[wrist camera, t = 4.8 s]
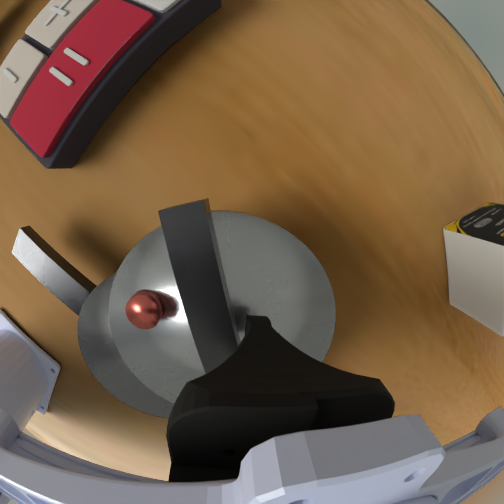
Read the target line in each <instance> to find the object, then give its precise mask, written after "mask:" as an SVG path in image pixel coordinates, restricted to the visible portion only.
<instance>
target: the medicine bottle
mask: <svg viewBox="0 0 504 504" xmlns="http://www.w3.org/2000/svg"><path fill="white" fill-rule="evenodd" d="M443 234H444V241H445V250H446V259H447V270H448V286H449V303H450V304H451V305H452V306H454V307H456V308H457V309H459V310H461V311H462V312H464V313H465V314H467V315H469V316H470V317H472V318H473V319H475V320H477V321H478V322H480V323H481V324H483V325H485V326H486V327H488V328H489V329H491V330H492V331H494V332H495V333H497V334H498V335H500V336H502V337H503V336H504V205H501V204H495V203H486V204H484V205H482V206H481V207H479V208H477V209H475V210H474V211H472V212H470V213H468V214H466V215H465V216H463V217H461V218H459V219H457V220H455V221H454V222H452V223H450V224H448V225H446V226H445V227H444V228H443Z"/></svg>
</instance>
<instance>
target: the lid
mask: <svg viewBox="0 0 504 504" xmlns="http://www.w3.org/2000/svg"><path fill="white" fill-rule="evenodd" d="M158 212H159V216H160V221H161V225H162V226H160V227H158V228H157V229H155V230H154V231H152V232H151V233H149V234H148V235H146V236H145V237H144V238H143V239H142V240H141V241H140V242H138V243H137V244H136V245H135V246H134V247H133V249H132V250H131V251H130V252H129V253H128V255H127V256H126V257H125V259H124V260H123V262H122V264H121V265H120V267H119V269H118V271H117V273H116V276H115V278H114V281H113V284H112V288H111V293H110V298H109V322H110V327H111V332H112V336H113V339H114V342H115V344H116V347H117V349H118V351H119V353H120V355H121V357H122V359H123V360H124V362H125V363H126V365H127V366H128V368H129V369H130V370H131V371H132V373H133V374H134V375H135V376H136V377H137V378H138V379H139V380H140V381H141V382H142V383H143V384H144V385H145V386H147V387H148V388H149V389H150V390H152V391H153V392H155V393H156V394H157V395H159V396H161V397H162V398H164V399H166V400H168V401H170V402H172V403H174V404H175V401H176V399H177V398H178V396H179V394H180V392H181V391H182V389H183V387H184V386H185V384H186V383H187V382H188V381H191V380H194V379H196V378H198V377H201V376H203V375H205V374H207V373H209V372H210V371H212V370H213V369H215V368H216V367H218V366H219V365H220V364H222V363H223V362H224V361H225V360H226V359H227V358H228V357H229V356H230V355H231V354H232V353H233V352H234V351H235V349H236V348H237V347H238V345H239V344H240V342H241V341H242V339H243V338H244V335H245V325H246V315H257V316H267V317H268V318H269V319H270V321H271V325H272V327H273V328H274V329H275V330H276V331H277V332H278V333H279V334H280V335H281V336H282V337H283V338H285V339H286V340H287V341H288V342H290V343H291V344H292V345H293V346H295V347H296V348H298V349H299V350H301V351H302V352H304V353H305V354H307V355H309V356H310V357H312V358H314V359H316V360H318V361H320V362H323V360H324V358H325V356H326V354H327V352H328V350H329V348H330V345H331V342H332V338H333V335H334V330H335V323H336V306H335V299H334V293H333V290H332V287H331V284H330V281H329V279H328V276H327V274H326V272H325V270H324V268H323V267H322V265H321V264H320V262H319V261H318V259H317V258H316V256H315V255H314V254H313V253H312V252H311V251H310V250H309V249H308V248H307V246H306V245H305V244H304V243H302V242H301V241H300V240H299V239H297V238H296V237H295V236H294V235H292V234H291V233H290V232H288V231H287V230H285V229H283V228H282V227H280V226H278V225H277V224H275V223H273V222H271V221H268V220H266V219H264V218H261V217H259V216H255V215H251V214H247V213H244V212H236V211H228V210H212V211H211V210H210V205H209V200H208V198H207V199H203V200H198V201H194V202H190V203H185V204H181V205H177V206H172V207H169V208H165V209H162V210H159V211H158Z"/></svg>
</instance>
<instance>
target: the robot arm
mask: <svg viewBox="0 0 504 504" xmlns="http://www.w3.org/2000/svg"><path fill="white" fill-rule="evenodd" d="M59 371H60V365H59V364H58V363H57V362H56V361H55V360H54V359H52V358H51V357H50V356H49V355H48V354H46V353H45V352H44V351H43V350H42V349H41V348H40V347H38V346H37V345H36V344H35V343H34V342H33V341H32V340H31V339H30V338H29V337H28V336H26V335H25V334H24V333H23V332H22V331H21V330H20V329H19V328H18V327H17V326H16V325H15V324H14V323H13V322H12V321H11V320H10V319H9V317H8V316H7V315H6V314H5V313H4V312H3V311H2V310H1V309H0V504H7V503H8V502H9V501H10V499H12V500H13V501H15V502H16V503H18V504H460V503H461V502H463V501H464V500H466V499H467V498H469V497H470V496H471V495H473V494H474V493H475V492H477V491H478V490H479V489H481V488H482V487H484V486H485V485H486V484H487V483H489V482H490V481H491V480H493V479H494V478H495V477H496V476H497V475H498V474H499V473H500V472H501V471H502V470H503V469H504V409H503V408H502V407H498V408H497V409H495V410H493V411H492V412H490V413H488V414H487V415H486V416H485V417H484V418H483V419H482V420H481V421H480V423H479V424H478V426H477V427H476V430H475V431H473V432H471V433H469V434H467V435H465V436H463V437H461V438H459V439H457V440H455V441H453V442H451V443H449V444H447V445H445V446H442V445H441V444H440V442H439V441H438V440H437V438H436V437H435V436H434V434H433V433H432V431H431V430H430V429H429V427H428V426H427V425H426V423H425V422H424V420H423V419H422V418H421V416H420V415H400V416H396V417H392V415H393V412H394V407H395V402H394V400H393V398H392V396H391V394H390V393H389V392H388V390H387V389H386V387H385V386H384V385H383V383H382V382H381V381H380V379H376V378H371V377H366V376H361V375H356V374H352V373H349V372H346V371H343V370H339V369H337V368H334V367H331V366H329V365H327V364H325V363H322V362H320V361H318V360H316V359H314V358H312V357H310V356H309V355H307V354H305V353H304V352H302V351H301V350H299V349H298V348H296V347H295V346H293V345H292V344H291V343H290V342H288V341H287V340H286V339H285V338H283V337H282V336H281V335H280V334H279V333H278V332H277V331H276V330H275V329H274V328H273V327H272V325H271V321H270V319H269V318H268V317H267V316H257V315H246V325H245V335H244V338H243V339H242V341H241V342H240V344H239V345H238V347H237V348H236V349H235V351H234V352H233V353H232V354H231V355H230V356H229V357H228V358H227V359H226V360H225V361H224V362H223V363H222V364H220V365H219V366H218V367H216V368H215V369H213V370H212V371H210V372H209V373H207V374H205V375H203V376H201V377H198V378H196V379H194V380H191V381H188V382H187V383H186V384H185V386H184V387H183V389H182V391H181V392H180V394H179V396H178V398H177V399H176V401H175V404H174V406H173V408H172V411H171V413H170V417H169V421H168V426H167V435H166V437H167V442H168V447H169V453H170V457H171V468H170V474H169V481H163V480H157V479H152V478H147V477H142V476H138V475H133V474H129V473H125V472H122V471H118V470H114V469H111V468H107V467H104V466H101V465H98V464H95V463H92V462H89V461H86V460H83V459H80V458H78V457H75V456H72V455H70V454H67V453H65V452H63V451H60V450H58V449H56V448H53V447H51V446H49V445H47V444H45V443H42V442H40V441H38V440H36V439H34V438H32V437H30V436H28V435H26V434H25V433H23V432H22V431H23V429H24V428H25V426H26V425H27V423H28V422H29V420H30V419H31V417H32V416H33V414H34V413H35V411H36V410H37V411H39V412H40V413H41V414H43V415H45V413H46V411H47V408H48V405H49V401H50V398H51V395H52V392H53V389H54V386H55V383H56V380H57V377H58V374H59ZM391 417H392V418H391Z"/></svg>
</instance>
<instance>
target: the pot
mask: <svg viewBox="0 0 504 504" xmlns="http://www.w3.org/2000/svg"><path fill="white" fill-rule="evenodd" d="M12 253H13V255H14V256H15V257H16V258H17V259H18V260H19V261H20V262H21V263H22V264H23V265H24V266H25V267H26V268H27V269H28V270H29V271H30V272H31V273H32V274H33V275H34V276H35V277H36V278H37V279H38V280H39V281H40V282H41V283H42V284H43V285H44V286H45V287H46V288H47V289H48V290H50V291H51V292H52V293H53V294H54V295H55V296H56V297H57V298H58V299H60V300H61V301H62V302H63V303H64V304H65V305H67V306H68V307H69V308H70V309H71V310H72V311H74V312H75V313H76V314H77V315H79V320H78V341H79V345H80V349H81V352H82V355H83V358H84V360H85V362H86V364H87V366H88V368H89V369H90V371H91V372H92V374H93V375H94V377H95V378H96V379H97V380H98V382H99V383H100V384H101V385H102V386H103V387H104V388H105V389H106V390H107V391H108V392H109V393H111V394H112V395H113V396H114V397H115V398H117V399H118V400H120V401H121V402H123V403H125V404H126V405H128V406H130V407H132V408H134V409H136V410H139V411H141V412H144V413H147V414H150V415H154V416H159V417H165V418H169V417H170V413H171V411H172V408H173V406H174V403H172V402H170V401H168V400H166V399H164V398H162V397H161V396H159V395H157V394H156V393H155V392H153V391H152V390H150V389H149V388H148V387H147V386H145V385H144V384H143V383H142V382H141V381H140V380H139V379H138V378H137V377H136V376H135V375H134V374H133V373H132V371H131V370H130V369H129V368H128V366H127V365H126V363H125V362H124V360H123V359H122V357H121V355H120V353H119V351H118V349H117V347H116V344H115V342H114V339H113V336H112V332H111V327H110V322H109V298H110V293H111V288H112V284H113V281H114V278H115V276H116V273H117V271H118V270H117V271H115V272H114V273H113V274H112V275H110V276H109V277H108V278H107V279H105V280H104V281H103V282H102V283H100V284H99V285H98V286H96V285H95V284H94V283H92V282H91V281H90V280H89V279H88V278H86V277H85V276H84V275H83V274H82V273H80V272H79V271H78V270H77V269H76V268H74V267H73V266H72V265H71V264H70V263H69V262H68V261H66V260H65V259H64V258H63V257H62V256H61V255H60V254H59V253H57V252H56V251H55V250H54V249H53V248H52V247H51V246H50V245H49V244H48V243H47V242H46V241H45V240H44V239H42V238H41V237H40V236H39V235H38V234H37V233H36V232H35V231H34V230H33V229H32V228H31V227H30V226H26V227H22V228H20V229H19V232H18V235H17V238H16V241H15V244H14V247H13V251H12Z"/></svg>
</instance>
